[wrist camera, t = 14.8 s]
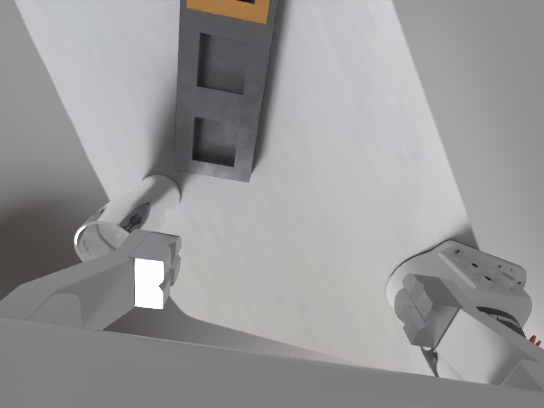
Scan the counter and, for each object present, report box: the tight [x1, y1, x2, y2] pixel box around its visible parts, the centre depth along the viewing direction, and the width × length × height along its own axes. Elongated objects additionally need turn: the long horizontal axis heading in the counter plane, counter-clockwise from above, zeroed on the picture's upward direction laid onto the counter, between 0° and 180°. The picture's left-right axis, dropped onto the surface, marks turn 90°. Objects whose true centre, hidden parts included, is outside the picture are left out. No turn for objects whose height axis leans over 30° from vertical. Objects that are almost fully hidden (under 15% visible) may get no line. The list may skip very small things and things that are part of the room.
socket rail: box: [174, 0, 278, 183], centre depth 34 cm, size 27×10×4 cm, turn 170°
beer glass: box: [74, 175, 180, 262], centre depth 36 cm, size 7×7×15 cm
